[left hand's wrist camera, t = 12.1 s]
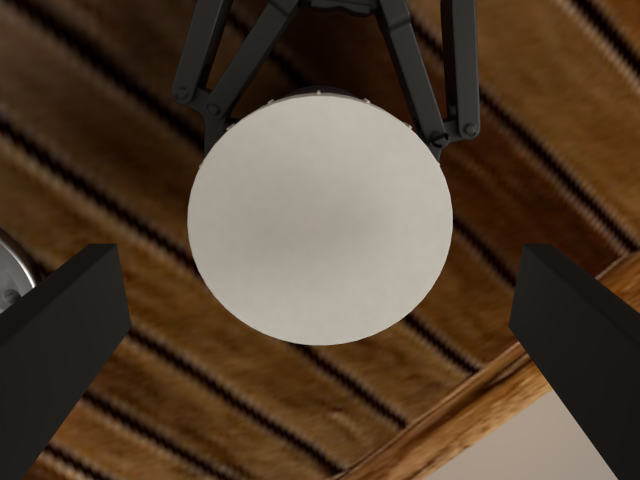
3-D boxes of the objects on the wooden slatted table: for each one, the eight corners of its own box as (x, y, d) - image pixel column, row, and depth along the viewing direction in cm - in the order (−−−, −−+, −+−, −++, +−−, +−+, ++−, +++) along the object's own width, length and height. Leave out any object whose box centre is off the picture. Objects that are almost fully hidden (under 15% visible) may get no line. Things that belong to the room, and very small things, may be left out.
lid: (485, 143, 17) (501, 151, 16) (384, 351, 21) (390, 374, 19) (235, 49, 16) (226, 48, 15) (173, 287, 20) (161, 306, 18)
